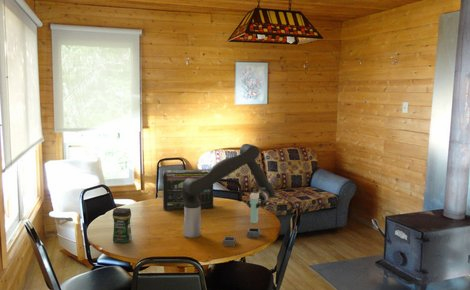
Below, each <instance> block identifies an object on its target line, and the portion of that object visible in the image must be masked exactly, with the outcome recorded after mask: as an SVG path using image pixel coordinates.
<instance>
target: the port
mask: <svg viewBox="0 0 470 290" xmlns="http://www.w3.org/2000/svg"><path fill="white" fill-rule="evenodd" d="M246 233H247V234H246V238H248V239H260V238H261V228H260V227H259V228H258V227H248V229H247V232H246Z"/></svg>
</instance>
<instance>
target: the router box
mask: <svg viewBox="0 0 470 290" xmlns="http://www.w3.org/2000/svg"><path fill="white" fill-rule="evenodd" d="M210 170H211V168H210V169H209V168H208V169H207V168H206V169H205V168H204V169H166V170H165V169H163V170H162V207H163V208H162V209H163V211H179V210H181V211H184V201H183V183H184V181H185V180H186V179H187V178H194V179H196V180H197V179H199V178H201V177H203V176H205V175H206V174H207V173H208V172H209V171H210ZM198 198H199V200H200V202H201V210H209V209H210V210H211V209H214V184H213V185H211V186H210V187H208V188H207V189H206V190H205V191H203V192H202V193H201V194H199V195H198Z"/></svg>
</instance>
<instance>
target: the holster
mask: <svg viewBox="0 0 470 290" xmlns="http://www.w3.org/2000/svg"><path fill="white" fill-rule="evenodd" d="M236 243H237V237H236V236H225V235H224V237H223V239H222V247H233V248H234V247H235V246H236Z"/></svg>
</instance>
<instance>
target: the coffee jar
mask: <svg viewBox="0 0 470 290" xmlns="http://www.w3.org/2000/svg"><path fill="white" fill-rule="evenodd" d="M131 211H132V210H131V208H124V207H115V208H113V210H112V219H113V234H112V241H113V242H114V243H117V244H118V243H119V244H126V243H129V242H131V241H132V238H133V237H132V230H131V217H132V212H131Z"/></svg>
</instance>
